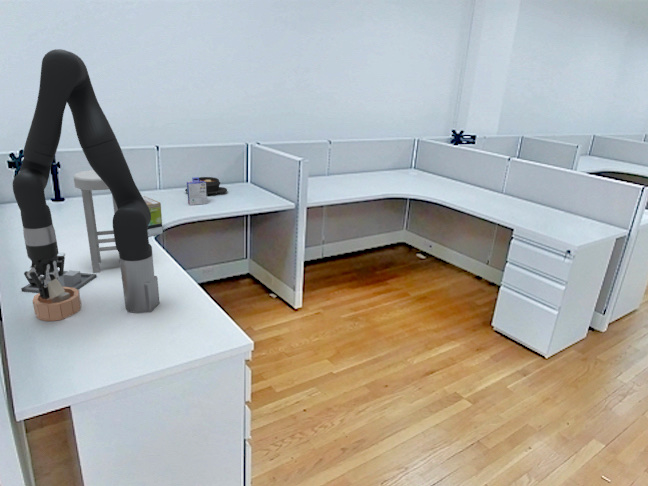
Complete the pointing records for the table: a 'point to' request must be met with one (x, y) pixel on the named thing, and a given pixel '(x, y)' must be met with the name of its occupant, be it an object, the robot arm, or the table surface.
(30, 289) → the tray
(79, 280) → the light gray block
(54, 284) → the off-white cubic block
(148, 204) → the tea box
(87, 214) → the stool
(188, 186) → the ink cartridge box
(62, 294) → the pale grey cuboid
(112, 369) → the table surface
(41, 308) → the bowl
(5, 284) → the table surface
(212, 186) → the casserole
